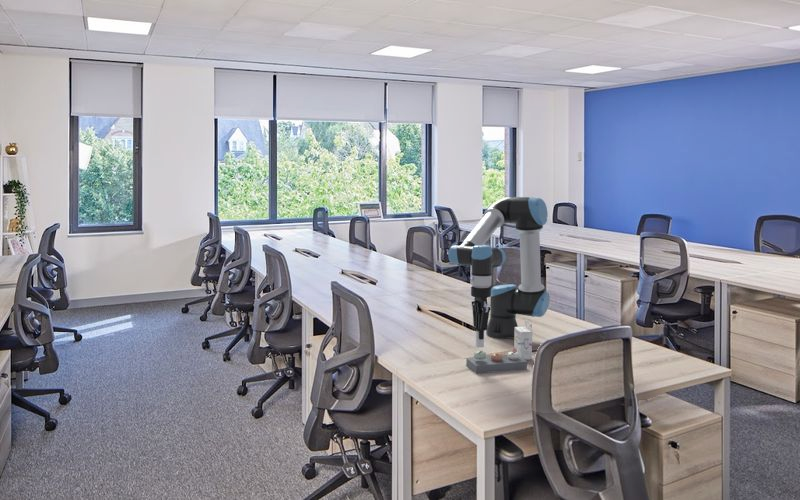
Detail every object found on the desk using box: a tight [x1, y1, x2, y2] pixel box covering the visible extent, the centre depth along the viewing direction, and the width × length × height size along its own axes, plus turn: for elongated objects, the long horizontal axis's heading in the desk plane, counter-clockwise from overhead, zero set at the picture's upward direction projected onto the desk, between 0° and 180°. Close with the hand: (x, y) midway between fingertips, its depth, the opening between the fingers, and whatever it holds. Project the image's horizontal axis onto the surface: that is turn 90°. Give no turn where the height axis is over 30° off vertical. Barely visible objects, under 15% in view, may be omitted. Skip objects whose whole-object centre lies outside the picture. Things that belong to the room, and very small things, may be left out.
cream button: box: [507, 351, 519, 360], centre depth 247 cm, size 4×4×2 cm
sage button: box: [473, 350, 487, 360], centre depth 243 cm, size 4×4×2 cm
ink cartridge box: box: [513, 319, 533, 361], centre depth 259 cm, size 9×5×15 cm, turn 9°
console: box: [465, 354, 528, 374], centre depth 245 cm, size 21×10×3 cm, turn 105°
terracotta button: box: [490, 352, 503, 361], centre depth 245 cm, size 4×4×2 cm
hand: (479, 346), depth 243 cm, fingers closed
